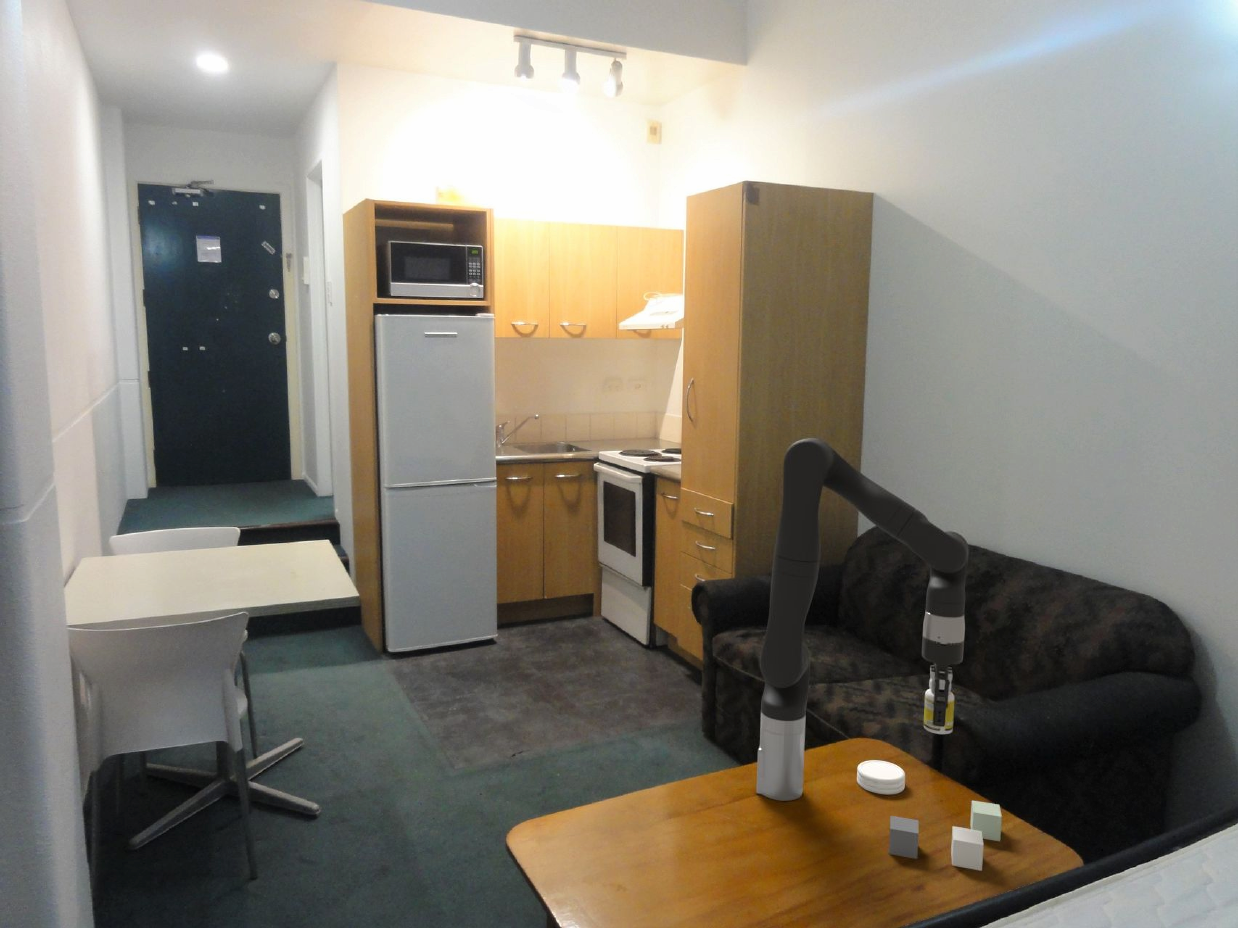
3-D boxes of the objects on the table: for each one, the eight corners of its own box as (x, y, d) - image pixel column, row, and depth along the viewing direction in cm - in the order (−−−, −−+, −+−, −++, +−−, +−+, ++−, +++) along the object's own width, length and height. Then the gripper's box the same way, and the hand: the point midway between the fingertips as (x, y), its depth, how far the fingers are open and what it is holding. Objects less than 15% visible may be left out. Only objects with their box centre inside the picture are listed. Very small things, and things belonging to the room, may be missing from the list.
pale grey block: (952, 865, 158) (953, 839, 158) (951, 851, 163) (952, 825, 162) (981, 871, 157) (983, 844, 156) (980, 856, 161) (981, 830, 161)
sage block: (971, 836, 168) (973, 812, 168) (970, 824, 173) (971, 800, 172) (1000, 841, 167) (1001, 816, 166) (997, 828, 171) (999, 804, 171)
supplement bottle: (948, 724, 173) (951, 676, 172) (956, 735, 168) (959, 686, 167) (920, 722, 174) (923, 675, 173) (927, 734, 168) (929, 684, 167)
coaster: (848, 776, 193) (849, 761, 193) (889, 772, 195) (889, 757, 195) (871, 797, 183) (872, 781, 183) (913, 793, 186) (914, 777, 185)
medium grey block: (888, 854, 162) (889, 828, 161) (889, 840, 166) (890, 815, 166) (917, 859, 160) (918, 833, 160) (917, 845, 165) (918, 820, 164)
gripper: (922, 623, 177) (918, 704, 179) (923, 643, 163) (918, 730, 165) (962, 627, 175) (957, 709, 176) (966, 648, 161) (960, 736, 163)
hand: (938, 719), depth 171 cm, fingers closed on supplement bottle, 5 cm apart
